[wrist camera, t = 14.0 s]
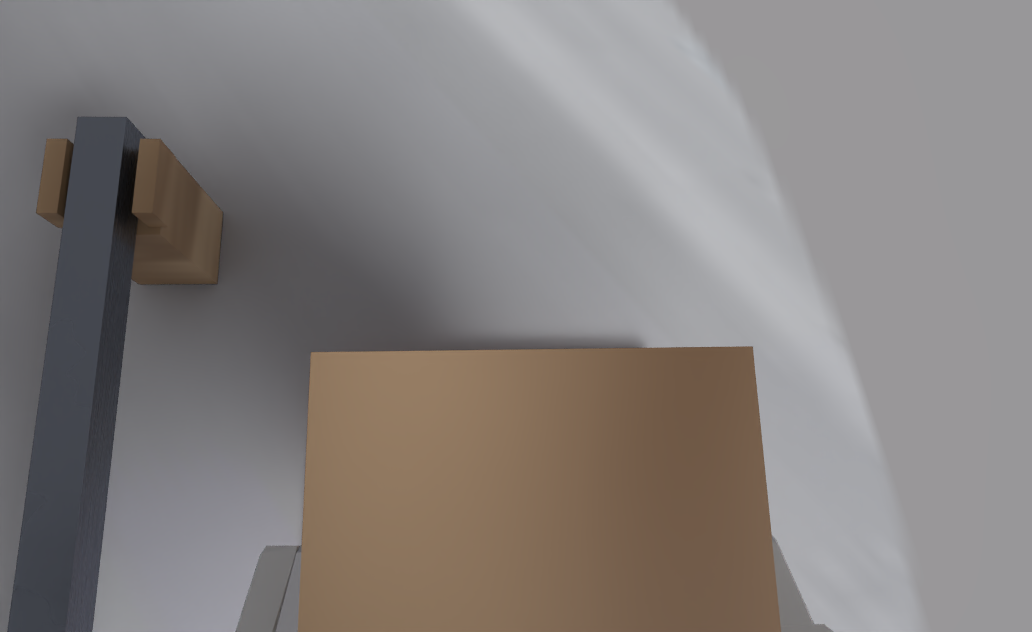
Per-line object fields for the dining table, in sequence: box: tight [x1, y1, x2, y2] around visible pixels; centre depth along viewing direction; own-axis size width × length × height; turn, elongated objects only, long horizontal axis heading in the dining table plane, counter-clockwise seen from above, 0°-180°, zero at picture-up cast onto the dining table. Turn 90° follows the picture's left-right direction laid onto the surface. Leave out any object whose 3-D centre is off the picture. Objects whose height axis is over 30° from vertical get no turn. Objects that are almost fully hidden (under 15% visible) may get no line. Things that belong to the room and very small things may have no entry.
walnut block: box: [298, 347, 781, 632], centre depth 12 cm, size 4×4×10 cm
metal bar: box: [7, 117, 146, 632], centre depth 17 cm, size 1×21×1 cm, turn 1°
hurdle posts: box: [36, 139, 223, 284], centre depth 19 cm, size 3×20×5 cm, turn 1°
